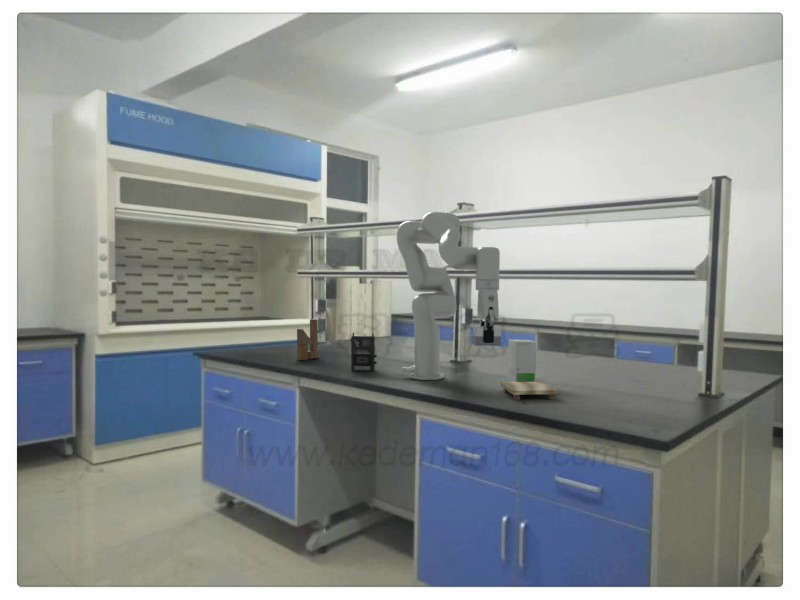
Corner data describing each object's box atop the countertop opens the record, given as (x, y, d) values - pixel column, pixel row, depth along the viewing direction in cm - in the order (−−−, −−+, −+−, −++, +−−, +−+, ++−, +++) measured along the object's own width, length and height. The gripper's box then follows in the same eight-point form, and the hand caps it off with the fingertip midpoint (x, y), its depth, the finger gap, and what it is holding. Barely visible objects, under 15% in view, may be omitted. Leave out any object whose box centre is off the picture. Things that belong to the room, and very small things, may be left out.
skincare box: (515, 386, 196) (515, 341, 195) (506, 382, 202) (507, 339, 201) (536, 384, 198) (537, 341, 197) (527, 381, 204) (528, 338, 204)
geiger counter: (377, 369, 228) (377, 332, 227) (375, 371, 224) (375, 333, 223) (352, 368, 229) (352, 332, 228) (349, 370, 225) (349, 333, 224)
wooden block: (296, 360, 251) (296, 320, 251) (313, 357, 260) (313, 318, 259) (302, 360, 249) (302, 320, 248) (319, 358, 258) (319, 319, 257)
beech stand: (513, 400, 173) (513, 390, 173) (500, 391, 187) (500, 382, 187) (557, 399, 174) (557, 390, 174) (541, 390, 188) (541, 381, 188)
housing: (500, 345, 180) (500, 326, 179) (476, 345, 179) (476, 326, 179) (496, 343, 185) (496, 325, 184) (472, 343, 184) (472, 325, 184)
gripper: (506, 286, 173) (505, 345, 174) (492, 285, 190) (491, 338, 191) (482, 286, 172) (481, 345, 173) (470, 284, 189) (469, 338, 190)
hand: (486, 341), depth 182 cm, fingers closed on housing, 5 cm apart
